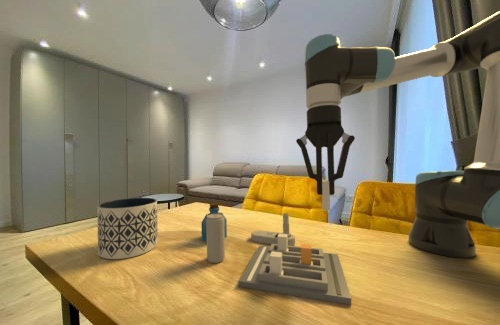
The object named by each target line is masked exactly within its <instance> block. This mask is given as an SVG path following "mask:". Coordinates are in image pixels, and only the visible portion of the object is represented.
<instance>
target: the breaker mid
mask: <svg viewBox="0 0 500 325" xmlns="http://www.w3.org/2000/svg"><path fill="white" fill-rule="evenodd" d="M300 247H301V260H300V264H308V265H313V261H311V248H312V244H306V243H301V244H300Z"/></svg>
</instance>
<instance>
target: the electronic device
mask: <svg viewBox="0 0 500 325" xmlns="http://www.w3.org/2000/svg"><path fill="white" fill-rule="evenodd" d="M289 218H290V217H289V213H282V230H283V231H282V232H276V231H268V230H260V229H259V230H253V231H252V232H251V235H250V237H251V241H253V242H255V243H256V242H257V243H261V244H268V245H271V244H278V234H279V233H280V234H287V237H288V246H295V245H296V237H295V235H294V234H292V233H291V232H290V219H289Z"/></svg>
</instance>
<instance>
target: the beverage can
mask: <svg viewBox="0 0 500 325" xmlns="http://www.w3.org/2000/svg"><path fill="white" fill-rule="evenodd" d="M224 216H225V215H224V213H223V214H210V215H208V216H207V219H206V227H207V242H206V259H207V261H208V262H209V263H210V264H218V263H221V262H223V261H224V260H225V258H226V252H225V249H226V247H225V245H226V243H225V239H226V238H225V234H224Z"/></svg>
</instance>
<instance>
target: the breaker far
mask: <svg viewBox="0 0 500 325" xmlns="http://www.w3.org/2000/svg"><path fill="white" fill-rule="evenodd" d="M278 233H279V234H278V249H277V250H281V251H289V249H288V237H287V234H280V233H281V232H278Z"/></svg>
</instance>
